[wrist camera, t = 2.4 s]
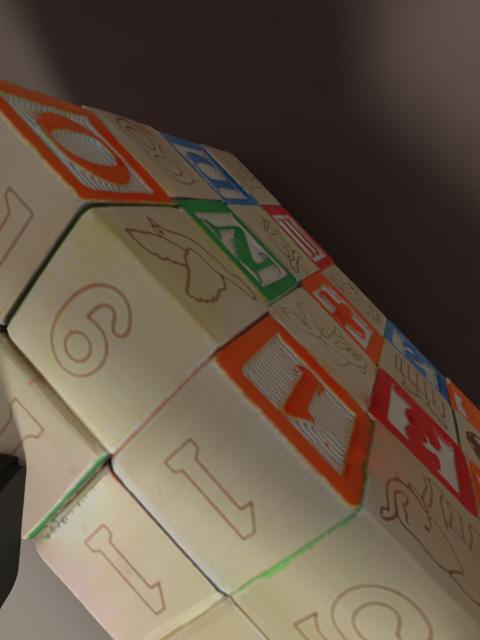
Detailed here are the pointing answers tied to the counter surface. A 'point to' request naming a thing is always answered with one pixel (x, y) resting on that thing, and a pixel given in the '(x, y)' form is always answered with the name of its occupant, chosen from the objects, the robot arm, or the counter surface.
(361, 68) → the counter surface
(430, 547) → the stack of blocks
